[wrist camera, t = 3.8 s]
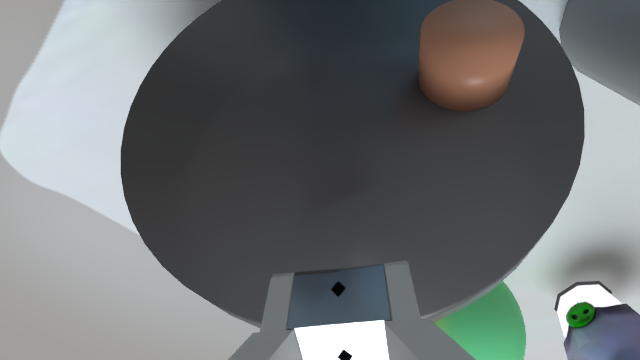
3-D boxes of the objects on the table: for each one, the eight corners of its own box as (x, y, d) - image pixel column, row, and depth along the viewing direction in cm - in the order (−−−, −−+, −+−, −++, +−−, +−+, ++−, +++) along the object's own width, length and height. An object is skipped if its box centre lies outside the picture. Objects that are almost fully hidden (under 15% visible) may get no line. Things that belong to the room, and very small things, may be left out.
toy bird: (418, 359, 49) (447, 508, 36) (289, 305, 45) (270, 449, 33) (529, 256, 41) (616, 401, 28) (382, 180, 37) (406, 306, 24)
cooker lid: (178, 0, 23) (139, -73, 19) (485, -57, 21) (501, -148, 17) (111, 362, 14) (17, 342, 10) (647, 318, 12) (746, 275, 8)
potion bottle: (569, 260, 41) (648, 370, 30) (646, 281, 42) (749, 394, 31) (523, 319, 45) (578, 434, 35) (594, 337, 46) (669, 453, 36)
